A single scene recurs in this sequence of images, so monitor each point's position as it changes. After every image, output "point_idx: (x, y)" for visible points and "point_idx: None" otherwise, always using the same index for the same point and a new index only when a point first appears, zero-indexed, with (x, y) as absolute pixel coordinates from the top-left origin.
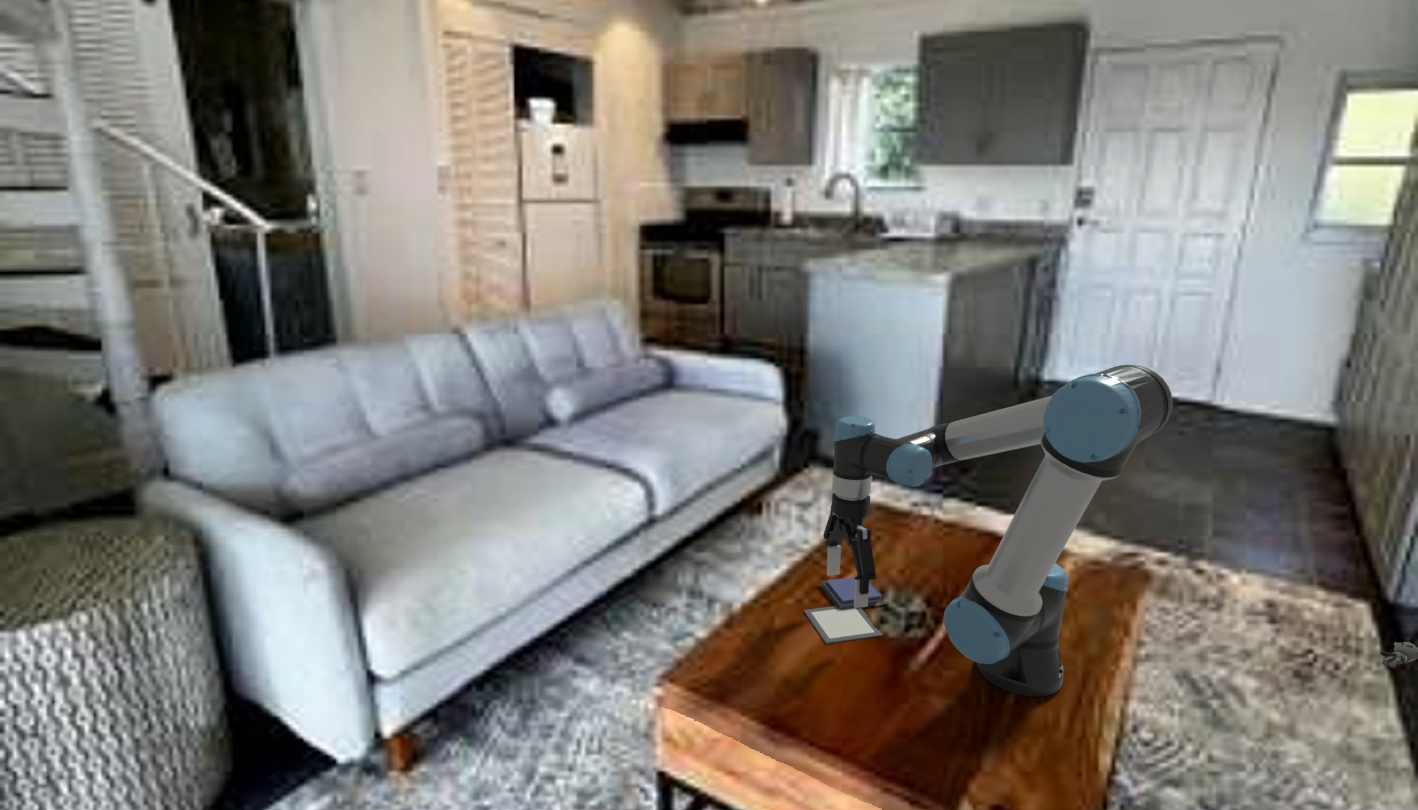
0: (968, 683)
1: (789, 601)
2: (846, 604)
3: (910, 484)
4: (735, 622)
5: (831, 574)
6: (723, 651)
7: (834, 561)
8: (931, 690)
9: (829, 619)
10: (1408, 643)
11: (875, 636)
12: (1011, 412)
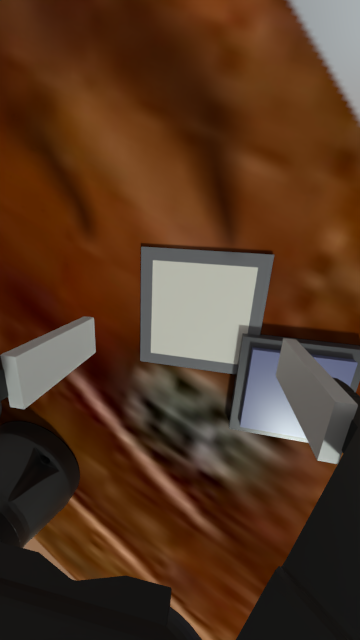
0: None
1: (332, 238)
2: (244, 351)
3: None
4: (302, 25)
5: (282, 350)
6: None
7: (296, 384)
8: (8, 345)
9: (216, 293)
10: None
11: (141, 347)
12: None
